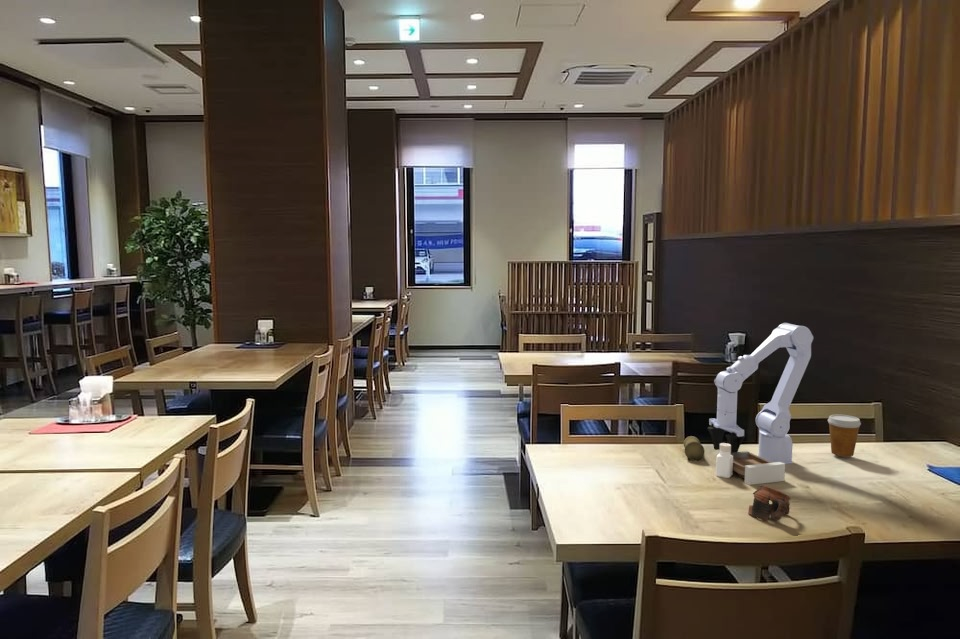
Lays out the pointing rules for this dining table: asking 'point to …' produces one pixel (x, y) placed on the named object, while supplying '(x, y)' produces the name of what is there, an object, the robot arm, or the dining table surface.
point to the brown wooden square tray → (745, 461)
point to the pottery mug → (765, 509)
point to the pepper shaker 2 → (724, 461)
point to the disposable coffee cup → (843, 434)
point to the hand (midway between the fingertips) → (725, 452)
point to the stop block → (764, 473)
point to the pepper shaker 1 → (693, 448)
